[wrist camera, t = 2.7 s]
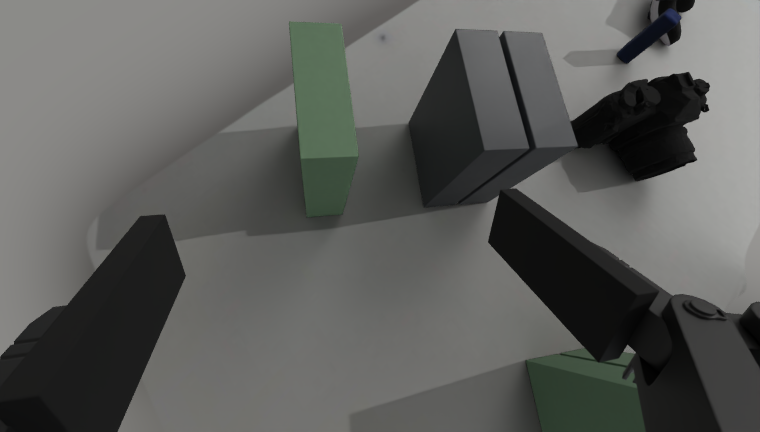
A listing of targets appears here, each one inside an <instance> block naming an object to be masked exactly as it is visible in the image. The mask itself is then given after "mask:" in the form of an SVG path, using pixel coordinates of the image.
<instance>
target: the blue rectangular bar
mask: <svg viewBox="0 0 760 432" xmlns="http://www.w3.org/2000/svg"><path fill="white" fill-rule="evenodd" d="M680 20H681V16H680V15H679V14H677V13H676V11H675V10H673V9H671V8H670V9H667V10H666V11H665V12H664V13H662V14H661V15H660V16H659V17H658V18H657V19H656V20H654V21H653V22H652V23H651V24H650V25H649V26H648V27H646V28H645V29H644V30H643V31H642V32H640V33H639V34H638V35H637V36H635V37H634V38H633V39H632V40H631V41H629V42H628V43H627V44H626V45H625V46H624V47H623V48H622V49H621V50H620V51H619V52H618V53H617V55H618V57H619V58H620V59H621V60H622V61H624V62H625V63H629V62H630V61H631V60H633V59H634V58H635V57H637V56H638V55H639V54H640V53H642V52H643V51H644V50H645V49H647V48H648V47H649V46H651V45H652V44H653V43H654V42H655V41H657V40H658V39H659V38H660V37H662V36H663V35H664V34H666V33H667V32H668V31H670V30H671V29H672V28H674V27H675V26H676V25H677V24H678V22H679V21H680Z"/></svg>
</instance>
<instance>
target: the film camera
mask: <svg viewBox="0 0 760 432" xmlns="http://www.w3.org/2000/svg"><path fill="white" fill-rule="evenodd" d="M709 87H710V85H709V83H706V82H705V81H704V80H702V79H696V80H693V78H692V77H691V75H690V73H689V72H686V73H681V74H672V75H670V76H667V77H658V78H655V79H653V80H651V81H650V82H648V79H643V80H637V81H633V82H631V83H630V82H629V83H628V84H627V85H626V86H625V87H624V88H623V89H622V90H621V91H617V92H614V93H612V94H610V95H608V96H606V97H604V98H603V99H601V100H600V101H599V102H598V103H596V104H595V105H594V106H592V107H591V108H590V109H588V110H587V111H586V112H584V113H583V114H582V115H580V116H579V117H577V118H576V119H575V120H573V121H571V122H570V123H571V126H572V129H573V132H574V135H575V138H576V142H577V145H578V147H576V148H580V147H583V148H591V147H592V146H593V145H595V144H599V143H603V144H605V143H609V144H610V146H611V147H612V149H613V150H614V151H615V150H618V151H619V152H620V153H619V155H620V158H621V159H623V161H624V163H625V166H626V168H627V171H628V172H629V174H633V177H634V179H635V181H640V180H644V179H648V178H652V177H655V176H658V175H661V174H664V173H667V172H670V171H672V170H675V169H677V168H680V167H682V166H685V165H686V164H687V163H692V162H695V161H696V160H697V158H696V157H695V155H694V153H693V152H694V151H695V148H694V146H693V144H692V143H691V141H690V139H689V138H688V136H687V133H688V132H687V129H686V128H685V127H683V125H685V124H686V123H688V122H692V121H694V120H696V119H698V118H699V114H700V112H701V111H703V112H707V111H709V108H708V105H707V104H706V101H707V98H706V96H705V94H706V93H707V92H708V91H709Z"/></svg>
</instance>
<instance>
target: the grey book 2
mask: <svg viewBox="0 0 760 432" xmlns="http://www.w3.org/2000/svg"><path fill="white" fill-rule="evenodd" d="M499 39H500V43H501V47H502V50H503V54H504V57H505V61H506V65H507V68H508V72H509V76H510V79H511V83H512V87H513V90H514V94H515V97H516V101H517V105H518V108H519V112H520V116H521V119H522V123H523V126H524V130H525V134H526V137H527V141H528V145H529V149H528V150H527V151H526V152H524V153H523V154H522V155H520V156H519V157H518V158H516V159H515V160H514V161H512V162H511V163H510V164H508V165H507V166H506V167H504V168H503V169H502V170H500V171H499V172H498V173H496V174H495V175H494V176H492V177H491V178H490V179H488V180H487V181H486V182H484V183H483V184H482V185H480V186H479V187H478V188H476V189H475V190H474V191H472V192H471V193H470V194H468V195H467V196H465V197H464V198H463V199H461V200H460V201H459V204H471V203H484V202H489V201H490V200H492V199H494V198H495V197H497V196H498V195H499V194H500V190H503V189H510V188H511V187H513V186H515V185H516V184H518V183H520V182H521V181H523V180H524V179H526V178H528V177H529V176H531V175H532V174H534V173H536V172H537V171H539V170H541V169H542V168H544V167H545V166H547V165H549V164H550V163H552V162H554V161H555V160H557V159H558V158H560V157H562V156H563V155H565V154H566V153H568V152H570V151H571V150H573V149H575V148H576V147H578V145H577V142H576V138H575V135H574V132H573V129H572V126H571V123H570V119H569V116H568V113H567V110H566V107H565V104H564V100H563V97H562V94H561V91H560V88H559V85H558V81H557V78H556V75H555V72H554V69H553V66H552V62H551V59H550V56H549V53H548V50H547V47H546V43H545V40H544V37H543V34H542V33H534V32H512V31H504V32H503V33H502V34H501V36H500V37H499Z"/></svg>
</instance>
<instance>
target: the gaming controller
mask: <svg viewBox="0 0 760 432" xmlns="http://www.w3.org/2000/svg"><path fill="white" fill-rule="evenodd" d="M694 2H695V0H653V1H652V3H651V6H650V7H651V10H650V11H649V12H648V19H651V22H653V21H654V20H656V19H657V18H658V17H659V16H660V15H661V14H662V13H664V12H665V11H666V10H667V9H670V8H671V9H673V10H675V11H676V13H677V11H679V12H686V11H688V10H690V9H691V8H692V7H693V5H694ZM680 36H681V25H680V21H679V22H678V24H677V25H676V26H675V27H674V28H672V29H671V30H670V31H668V32H667V33H666V34H664V35H663V36H662V37H660V39H661V40H662V42H663V43H664V44H666V45H667V46H670V45H671V44H673V43H675V42H676V41H678V40H679V39H680Z"/></svg>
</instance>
